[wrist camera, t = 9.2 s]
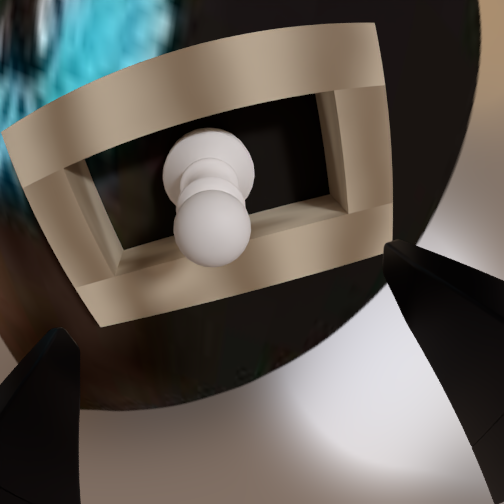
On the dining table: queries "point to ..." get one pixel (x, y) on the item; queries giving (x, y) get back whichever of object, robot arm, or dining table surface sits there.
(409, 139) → the dining table surface
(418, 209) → the dining table surface
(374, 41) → the wooden rectangular frame
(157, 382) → the dining table surface
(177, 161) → the chess pawn
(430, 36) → the dining table surface
